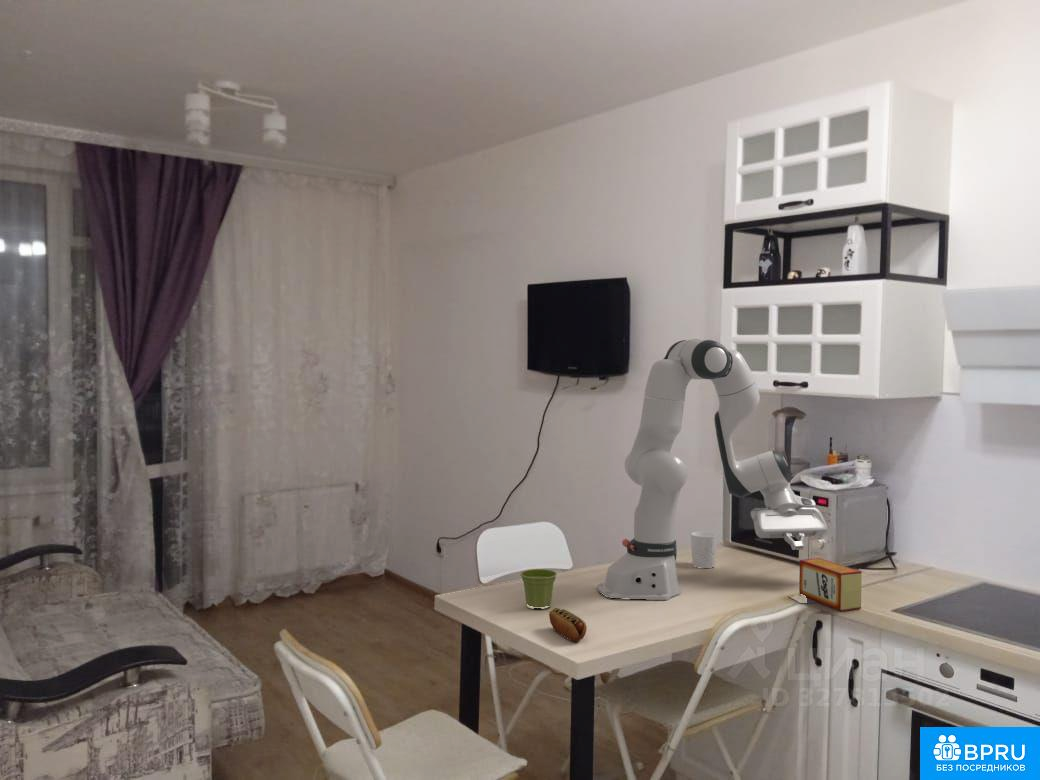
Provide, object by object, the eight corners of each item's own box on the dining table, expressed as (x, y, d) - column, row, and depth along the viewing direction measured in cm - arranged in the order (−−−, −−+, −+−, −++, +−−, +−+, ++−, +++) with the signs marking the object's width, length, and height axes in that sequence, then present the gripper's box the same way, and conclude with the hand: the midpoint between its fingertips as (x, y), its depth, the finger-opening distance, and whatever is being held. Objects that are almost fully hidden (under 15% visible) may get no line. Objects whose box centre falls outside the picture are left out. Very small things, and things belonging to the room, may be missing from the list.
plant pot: (512, 606, 214) (512, 572, 214) (540, 599, 220) (540, 567, 220) (536, 614, 207) (536, 579, 207) (564, 607, 213) (564, 573, 213)
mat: (800, 604, 216) (800, 603, 216) (787, 596, 223) (787, 595, 223) (843, 602, 218) (843, 601, 218) (829, 594, 225) (829, 594, 225)
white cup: (714, 563, 260) (715, 532, 260) (718, 569, 252) (718, 537, 252) (689, 563, 261) (689, 531, 261) (691, 569, 253) (692, 536, 253)
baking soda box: (818, 592, 227) (862, 608, 212) (799, 594, 224) (841, 611, 209) (819, 558, 226) (862, 571, 211) (799, 560, 224) (842, 574, 209)
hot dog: (565, 625, 198) (565, 605, 198) (591, 642, 186) (591, 620, 186) (546, 628, 196) (546, 607, 196) (571, 645, 184) (571, 623, 184)
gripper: (751, 501, 235) (766, 543, 226) (819, 500, 238) (836, 541, 229) (745, 514, 240) (759, 556, 231) (811, 512, 243) (828, 553, 233)
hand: (798, 548), depth 230 cm, fingers closed
